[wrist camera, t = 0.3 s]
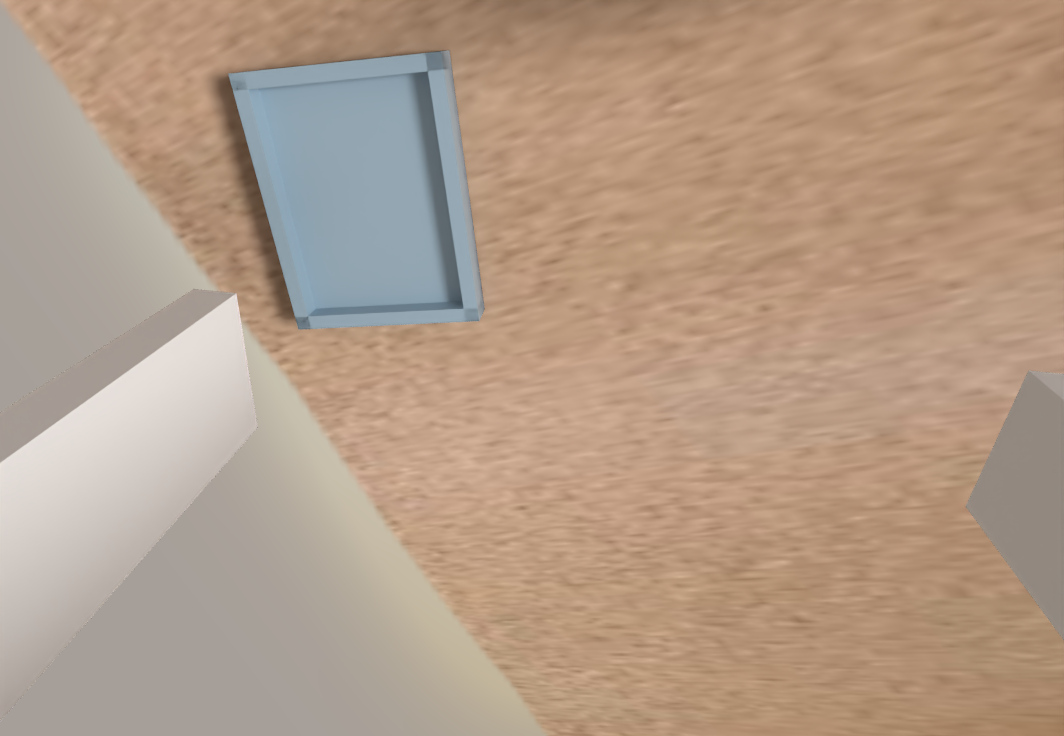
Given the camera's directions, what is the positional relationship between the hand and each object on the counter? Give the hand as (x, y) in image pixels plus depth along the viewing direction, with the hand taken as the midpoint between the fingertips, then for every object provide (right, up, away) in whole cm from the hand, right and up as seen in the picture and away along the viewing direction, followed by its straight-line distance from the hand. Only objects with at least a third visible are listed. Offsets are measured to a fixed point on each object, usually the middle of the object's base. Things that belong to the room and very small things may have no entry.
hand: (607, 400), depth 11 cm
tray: (-10, +10, +26) cm, 30 cm away
